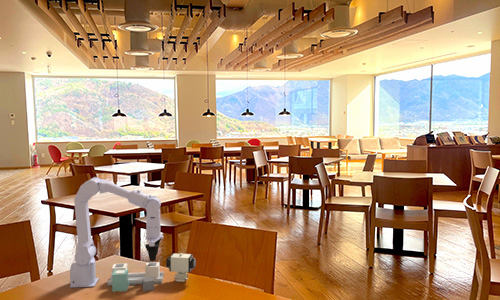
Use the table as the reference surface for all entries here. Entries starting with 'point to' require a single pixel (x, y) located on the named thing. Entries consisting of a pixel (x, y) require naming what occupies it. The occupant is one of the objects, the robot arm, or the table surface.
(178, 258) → the pneumatic valve
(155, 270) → the board
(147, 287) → the dark loose block
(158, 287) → the table surface
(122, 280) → the block
